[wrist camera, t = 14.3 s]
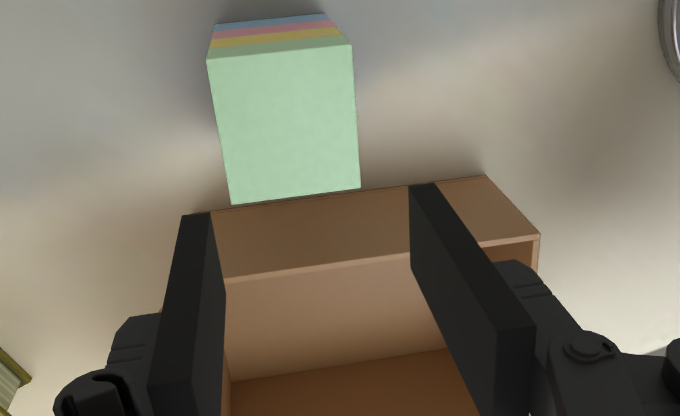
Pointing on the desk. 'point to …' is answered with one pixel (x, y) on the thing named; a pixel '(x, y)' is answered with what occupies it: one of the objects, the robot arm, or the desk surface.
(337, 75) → the sticky pads
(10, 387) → the hardcover book
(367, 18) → the desk surface
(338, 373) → the carton
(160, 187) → the desk surface
